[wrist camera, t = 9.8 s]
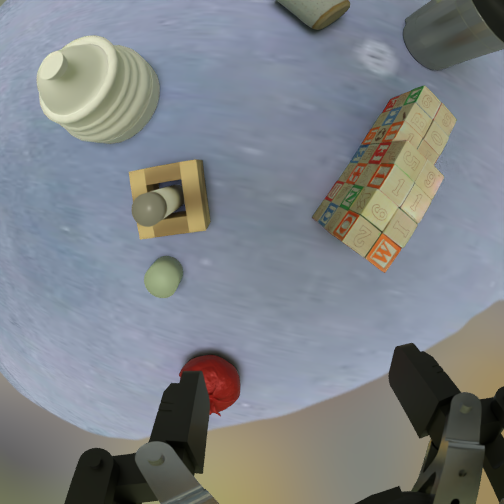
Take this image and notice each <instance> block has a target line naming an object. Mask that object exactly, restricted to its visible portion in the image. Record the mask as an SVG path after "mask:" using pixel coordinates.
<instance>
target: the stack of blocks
mask: <svg viewBox="0 0 504 504" xmlns="http://www.w3.org/2000/svg"><path fill="white" fill-rule="evenodd" d="M456 121H457V119H456V118H455V117H454V116H453V115H452V114H451V112H450V111H449V110H448V109H447V108H446V107H445V106H444V104H443V103H441V102H440V101H439V100H438V98H437V97H436V96H435V95H434V94H433V93H432V92H431V91H430V90H429V89H428V88H427V87H426V86H425V85H424V86H421V87H418V88H415V89H413V90H411V91H409V92H407V93H404V94H401V95H400V96H397V97H394V98H392V99H390V101H389V102H388V104H387V106H386V107H385V109H384V111H383V112H382V113H381V114H380V116H379V117H378V119H377V121H376V122H375V124H374V125H373V127H372V129H371V130H370V131H369V133H368V134H367V136H366V138H365V139H364V141H363V142H362V144H361V146H360V148H359V149H358V151H357V152H356V154H355V155H354V157H353V158H352V160H351V161H350V163H349V165H348V166H347V168H346V169H345V171H344V172H343V174H342V175H341V177H340V178H339V180H338V181H337V182H336V183H335V185H334V186H333V188H332V189H331V191H330V192H329V193H328V195H327V196H326V198H325V199H324V201H323V202H322V203H321V205H320V206H319V208H318V209H317V211H316V212H315V213H314V215H313V217H312V218H313V219H314V220H316V221H317V222H318V223H319V224H321V225H322V226H323V227H324V228H325V229H326V230H327V231H328V232H329V233H330V234H332V235H333V236H335V237H336V238H337V239H339V240H340V241H342V242H343V243H344V244H346V245H347V246H349V247H350V248H351V249H353V250H354V251H355V252H357V253H358V254H360V255H361V256H362V257H364V258H365V259H367V260H368V261H369V262H370V263H372V264H373V265H374V266H376V267H377V268H378V269H380V270H381V271H382V272H384V273H385V272H386V271H387V270H388V268H389V267H390V265H391V264H392V262H393V261H394V260H395V258H396V257H397V255H398V254H399V252H400V251H401V248H404V247H405V245H406V243H407V242H408V240H409V239H410V237H411V236H412V234H413V232H414V231H415V229H416V227H417V223H419V222H420V221H421V219H422V218H423V216H424V214H425V213H426V211H427V209H428V207H429V205H430V204H431V200H432V199H433V198H434V196H435V194H436V192H437V190H438V188H439V186H440V184H441V182H442V180H443V179H444V176H443V175H442V174H441V173H440V172H439V171H438V170H437V169H436V167H435V166H434V164H435V163H436V161H437V159H438V157H439V156H440V154H441V153H442V151H443V149H444V147H445V145H446V143H447V141H448V139H449V135H450V133H451V131H452V129H453V127H454V125H455V123H456Z"/></svg>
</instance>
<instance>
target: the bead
mask: <svg viewBox="0 0 504 504" xmlns="http://www.w3.org/2000/svg"><path fill="white" fill-rule="evenodd" d="M182 276H183V268H182V266H181V264H180V263H179V261H178V260H176V259H175V258H173V257H170V256H162V257H160V258H158V259H157V260H156V261H155V262H154V263H153V265H152V266H151V267H150V268H149V269H148V271H147V272H146V274H145V277H144V283H145V286H146V288H147V290H148V291H149V292H150V293H151V294H152V295H154V296H156V297H159V298H167V297H170V296H171V295H173V294H174V292H175V291H176V289H177V287H178V285H179V283H180V281H181V279H182Z"/></svg>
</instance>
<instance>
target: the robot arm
mask: <svg viewBox="0 0 504 504" xmlns="http://www.w3.org/2000/svg"><path fill="white" fill-rule="evenodd" d="M405 21H406V26H405V27H404V31H403V37H404V41H405V44H406V46H407V48H408V50H409V51H410V53H411V54H412V55H413V57H414V58H415V59H416V60H417V61H418V62H419V63H421V64H422V65H423V66H425V67H427V68H428V69H431V70H442V69H445V68H448V67H450V66H453V65H456V64H459V63H462V62H465V61H468V60H471V59H474V58H477V57H480V56H483V55H486V54H490V53H493V52H496V51H500V50H503V49H504V0H431V1H430V2H428V3H427V4H425V5H424V6H423V7H421V8H420V9H418V10H417V11H416V12H414V13H413V14H412V15H410V16H409V17H408V18H406V19H405ZM389 383H390V386H391V388H392V389H393V391H394V393H395V395H396V396H397V398H398V400H399V402H400V403H401V405H402V407H403V409H404V411H405V412H406V414H407V416H408V418H409V420H410V422H411V423H412V425H413V427H414V429H415V431H416V433H417V435H418V436H419V438H423V437H425V436H428V435H430V437H431V440H430V441H429V444H428V448H427V451H426V455H425V458H424V462H423V465H422V468H421V471H420V474H419V477H418V479H417V481H416V483H415V485H414V486H413V488H412V490H411V491H407V492H401V489H400V487H399V486H398V487H395V488H392V489H389V490H386V491H383V492H380V493H377V494H374V495H371V496H369V497H367V498H365V499H364V500H361V501H359V502H357V503H355V504H476V500H477V495H478V490H479V486H480V481H481V475H482V468H484V470H485V472H486V474H487V477H488V479H489V481H490V483H491V485H492V487H493V489H494V492H495V494H496V496H497V498H498V501H499V504H504V438H503V436H502V434H501V432H502V431H503V429H504V387H501V388H500V389H498V391H497V392H496V394H495V396H494V397H492V398H486V399H478V397H477V396H475V395H474V394H471V393H467V392H463V393H461V392H460V390H459V389H458V388H457V386H456V385H455V384H454V383H453V381H452V380H451V379H450V378H449V376H448V375H447V374H446V373H445V372H444V371H443V369H442V368H441V366H439V364H438V363H437V361H436V360H435V359H434V358H433V357H432V356H431V355H429V354H427V353H426V352H424V351H422V352H420V351H419V349H418V348H417V347H416V346H415V344H413V343H409V344H405V345H401V346H397V347H396V348H395V350H394V354H393V358H392V362H391V366H390V370H389ZM158 410H159V411H158V412H157V416H156V419H155V423H154V426H153V429H152V433H151V436H150V440H149V442H148V443H146V444H144V445H143V446H141V447H140V448H139V449H138V451H137V452H136V453H133V454H127V455H118V456H111V454H110V453H109V452H108V451H106V450H104V449H101V448H92V449H89V450H87V451H85V452H84V453H83V454H82V455H81V457H80V459H79V461H78V464H77V467H76V470H75V473H74V476H73V478H72V481H71V485H70V488H69V491H68V494H67V497H66V500H65V504H142V502H150V501H159V502H160V503H161V504H219V503H218V502H217V501H216V500H215V499H214V497H213V496H212V495H211V494H210V493H209V492H208V491H207V490H206V489H204V488H203V487H202V486H201V485H200V484H199V482H198V481H197V480H196V479H195V477H194V473H199V474H202V473H203V467H204V458H205V448H206V438H207V430H208V422H209V413H210V400H209V395H208V391H207V387H206V383H205V379H204V375H203V372H202V371H183V372H182V375H181V379H180V383H171V384H170V385H169V386H168V388H167V389H166V390H165V391H164V393H163V396H162V399H161V403H160V406H159V409H158Z"/></svg>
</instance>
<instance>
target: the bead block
mask: <svg viewBox="0 0 504 504" xmlns="http://www.w3.org/2000/svg"><path fill="white" fill-rule="evenodd" d="M129 177H130V184H131V190H132V197H133V202H134V200H135V199H136V198H137V197H138V196H139V195H141V194H144V193H147V192H151V191H154V190H157V189H159V183H161V182H167V181H173V180H179V179H181V180H182V187H183V194H184V201H185V208H186V211H180V212H174V213H171V214H170V215H168V216H167V217H165V218H164V219H162V220H161V221H160V222H158V223H157V224H155V225H153V226H150V227H145V226H142V225H140V224H138V223H137V226H138V231H139V236H140V239H147V238H154V237H161V236H168V235H175V234H183V233H191V232H198V231H206V229H207V228H208V226H209V224H210V215H209V208H208V200H207V193H206V185H205V178H204V170H203V162H202V160H189V161H183V162H178V163H172V164H166V165H161V166H156V167H151V168H146V169H141V170H136V171H132V172H129Z"/></svg>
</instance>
